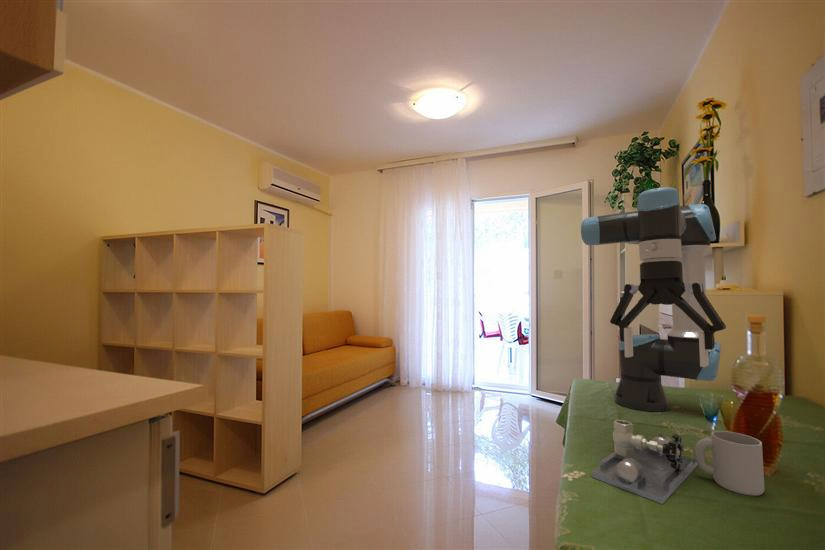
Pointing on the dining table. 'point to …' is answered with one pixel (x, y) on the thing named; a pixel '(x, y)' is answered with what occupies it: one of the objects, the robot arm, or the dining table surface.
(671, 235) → the robot arm
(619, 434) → the valve
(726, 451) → the cup
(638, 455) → the tray
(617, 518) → the dining table surface
